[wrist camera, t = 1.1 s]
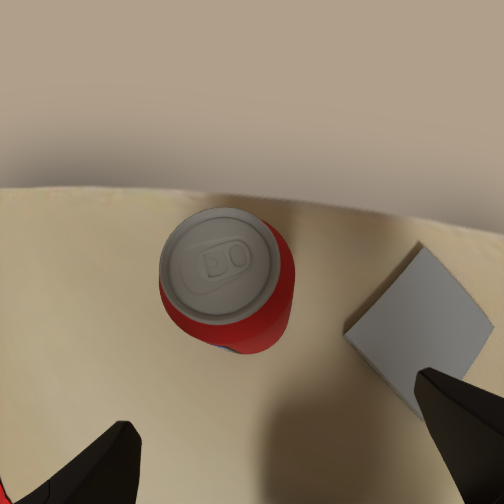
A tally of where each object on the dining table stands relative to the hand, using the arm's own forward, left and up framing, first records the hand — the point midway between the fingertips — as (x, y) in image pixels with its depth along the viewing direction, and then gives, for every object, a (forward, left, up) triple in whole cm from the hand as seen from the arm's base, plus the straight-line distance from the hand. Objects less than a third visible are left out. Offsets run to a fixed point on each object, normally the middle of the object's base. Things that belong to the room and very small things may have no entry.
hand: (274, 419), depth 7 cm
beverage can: (+2, +6, -15) cm, 16 cm away
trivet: (+12, -6, -15) cm, 20 cm away
